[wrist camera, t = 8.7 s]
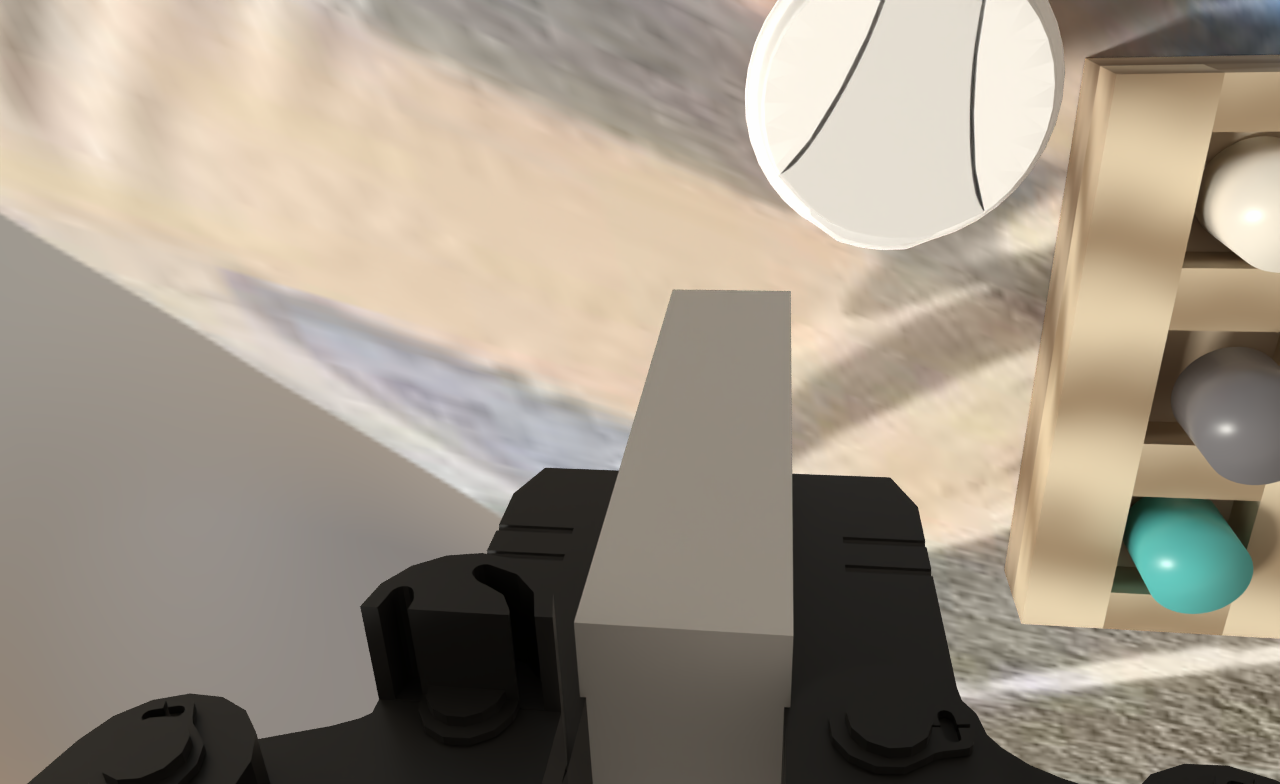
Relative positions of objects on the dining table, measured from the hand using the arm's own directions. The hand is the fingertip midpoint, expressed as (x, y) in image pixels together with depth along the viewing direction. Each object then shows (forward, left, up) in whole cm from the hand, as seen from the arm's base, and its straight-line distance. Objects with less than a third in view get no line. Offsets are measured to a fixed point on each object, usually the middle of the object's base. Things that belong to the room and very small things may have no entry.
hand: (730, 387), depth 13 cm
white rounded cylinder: (+5, +18, -27) cm, 33 cm away
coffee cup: (-1, +4, -30) cm, 30 cm away
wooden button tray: (+12, +18, -29) cm, 37 cm away
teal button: (+20, +18, -27) cm, 38 cm away
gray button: (+12, +18, -25) cm, 33 cm away
